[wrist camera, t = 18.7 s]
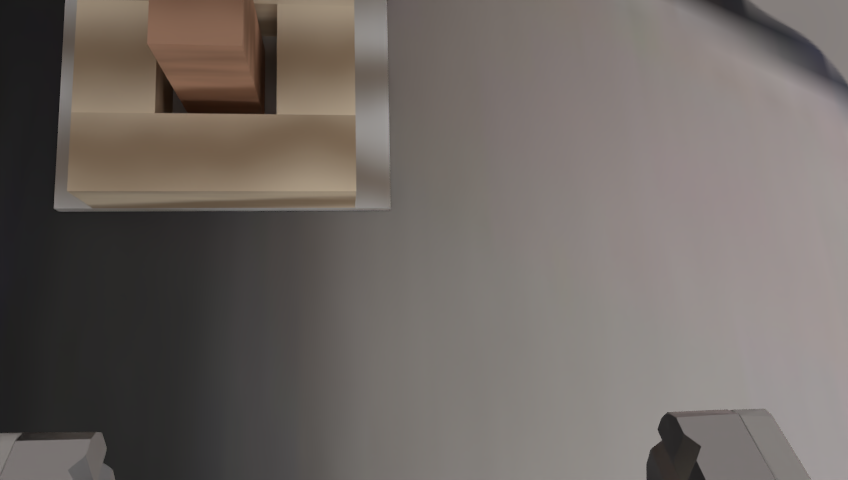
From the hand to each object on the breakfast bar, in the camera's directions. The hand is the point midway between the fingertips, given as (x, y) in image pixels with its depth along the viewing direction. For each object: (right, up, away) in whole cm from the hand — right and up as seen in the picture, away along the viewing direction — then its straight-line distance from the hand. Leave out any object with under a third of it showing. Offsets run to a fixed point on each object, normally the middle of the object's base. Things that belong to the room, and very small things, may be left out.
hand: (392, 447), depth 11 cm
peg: (-11, +12, +32) cm, 36 cm away
